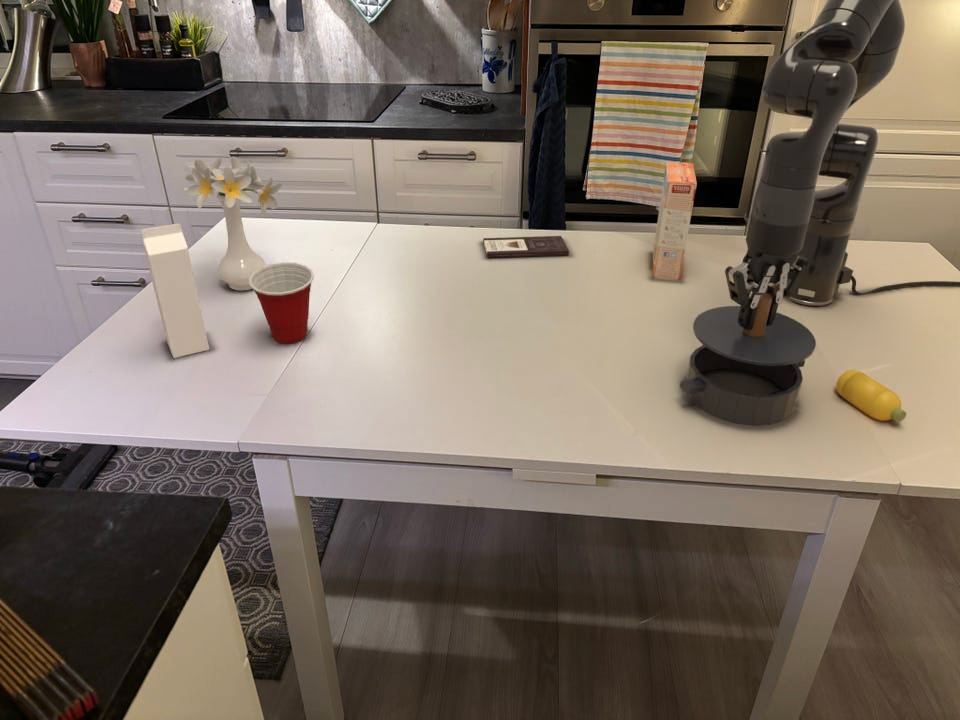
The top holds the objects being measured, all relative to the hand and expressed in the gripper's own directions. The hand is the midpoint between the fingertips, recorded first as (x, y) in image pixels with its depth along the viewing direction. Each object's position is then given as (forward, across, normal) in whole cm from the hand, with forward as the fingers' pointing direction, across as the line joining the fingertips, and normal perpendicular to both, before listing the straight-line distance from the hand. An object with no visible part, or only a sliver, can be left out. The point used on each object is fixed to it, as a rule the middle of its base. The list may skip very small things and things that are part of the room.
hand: (755, 324), depth 109 cm
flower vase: (+13, -66, +70) cm, 97 cm away
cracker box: (+13, +18, +46) cm, 51 cm away
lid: (+2, 0, 0) cm, 2 cm away
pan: (+13, 0, 0) cm, 13 cm away
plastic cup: (+13, -62, +45) cm, 78 cm away
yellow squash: (+13, +16, -10) cm, 23 cm away
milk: (+13, -79, +48) cm, 93 cm away
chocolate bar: (+13, -6, +66) cm, 68 cm away
